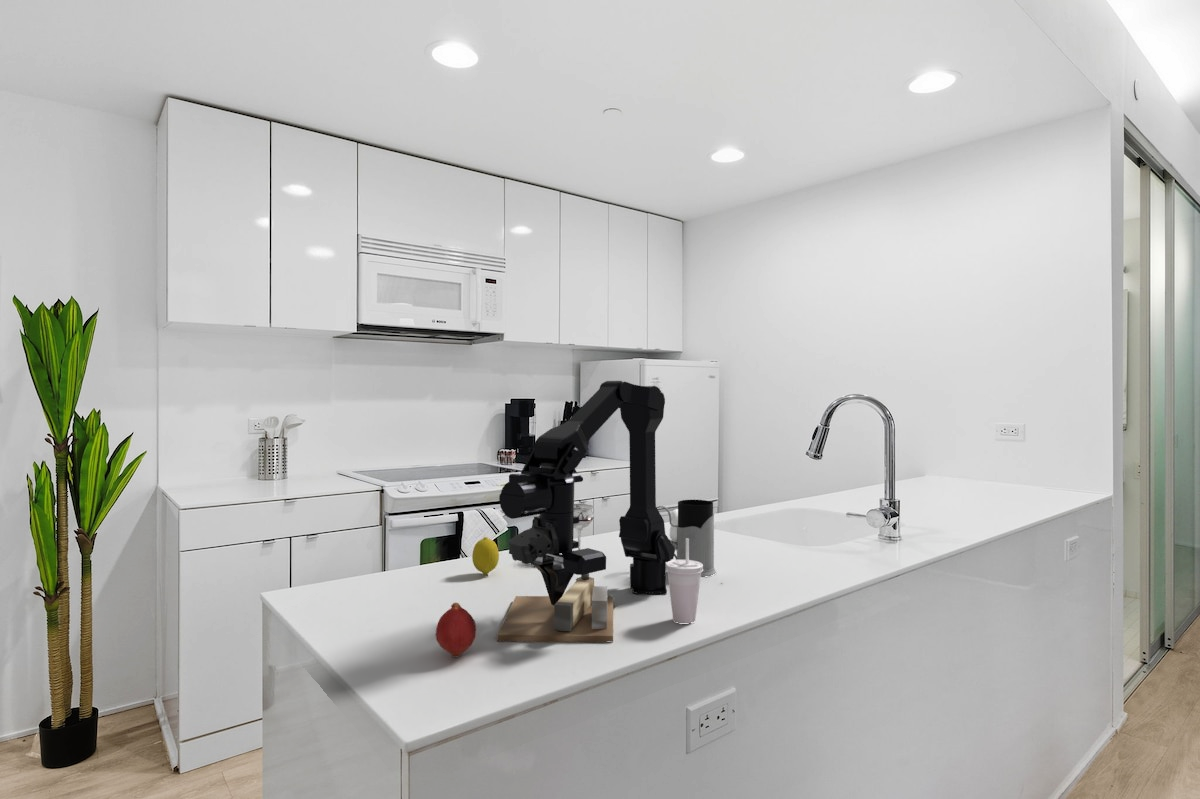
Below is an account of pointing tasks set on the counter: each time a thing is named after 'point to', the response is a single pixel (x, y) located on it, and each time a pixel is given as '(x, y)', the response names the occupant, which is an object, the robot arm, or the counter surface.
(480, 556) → the lemon
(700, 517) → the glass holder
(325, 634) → the counter surface
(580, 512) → the wineglass
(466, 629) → the onion
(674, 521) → the white rounded piece
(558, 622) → the leg
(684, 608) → the smoothie
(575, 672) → the counter surface
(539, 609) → the seat
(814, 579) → the counter surface
